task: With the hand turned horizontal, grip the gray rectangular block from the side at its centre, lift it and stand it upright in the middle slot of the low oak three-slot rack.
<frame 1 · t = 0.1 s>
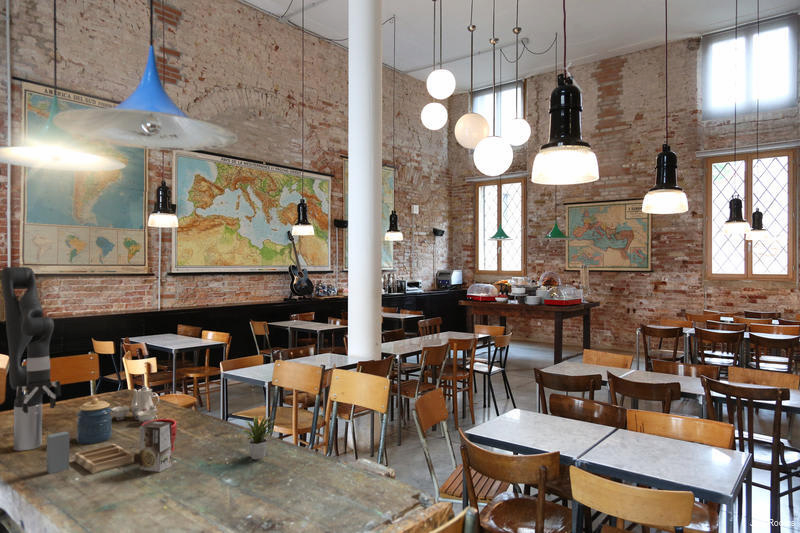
hand: (39, 410, 199), 17 cm above the table, tool pointing down, fingers open, 8 cm apart
gray rectangular block: (57, 470, 185), on the table
coffee box: (155, 468, 188), on the table
rack: (104, 461, 193), on the table
house plant: (257, 458, 198), on the table
plant pot: (158, 454, 201), on the table
chinaware: (139, 420, 246), on the table
canister: (94, 439, 217), on the table
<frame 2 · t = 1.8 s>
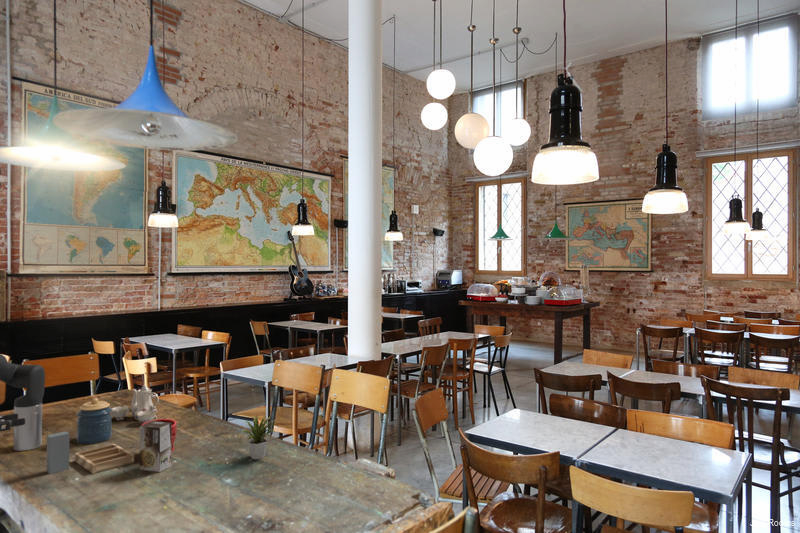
hand: (21, 418, 176), 21 cm above the table, tool horizontal, fingers open, 8 cm apart
nothing on the table moved.
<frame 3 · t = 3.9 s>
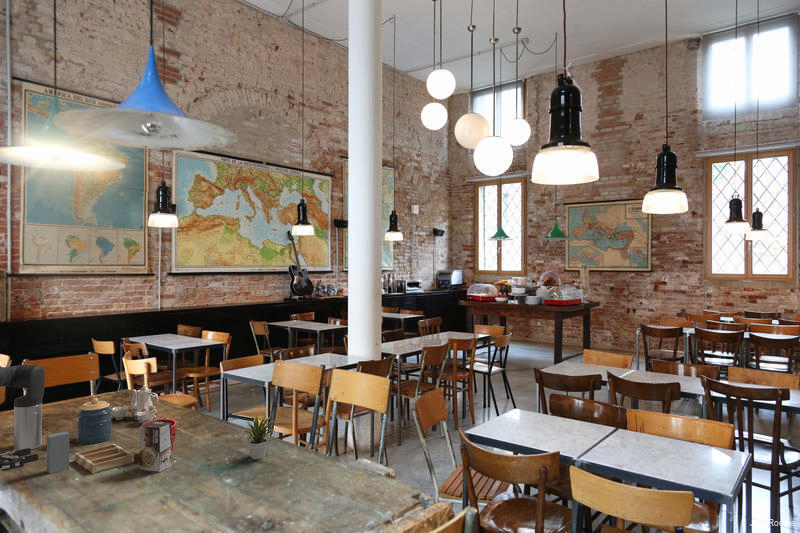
hand: (34, 453, 179), 8 cm above the table, tool horizontal, fingers open, 8 cm apart
nothing on the table moved.
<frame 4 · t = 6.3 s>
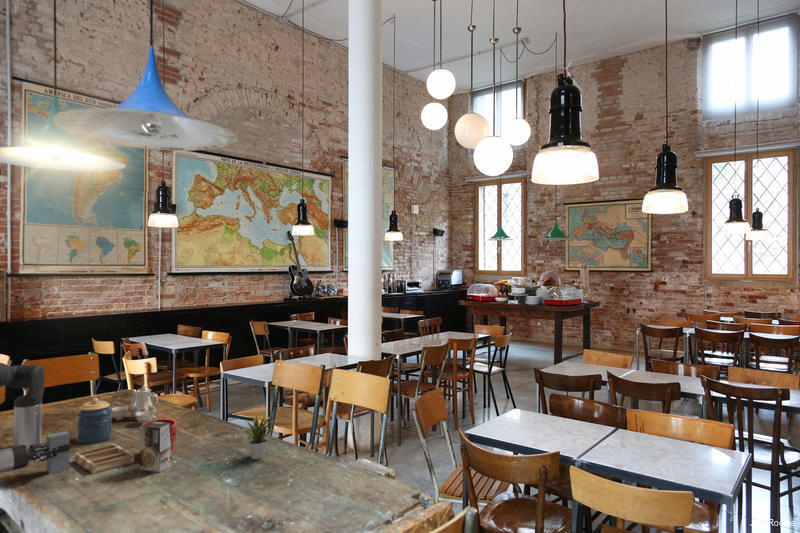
hand: (67, 445, 187), 8 cm above the table, tool horizontal, fingers closed on gray rectangular block, 3 cm apart
gray rectangular block: (58, 470, 185), on the table, touching gripper
everything else where it was.
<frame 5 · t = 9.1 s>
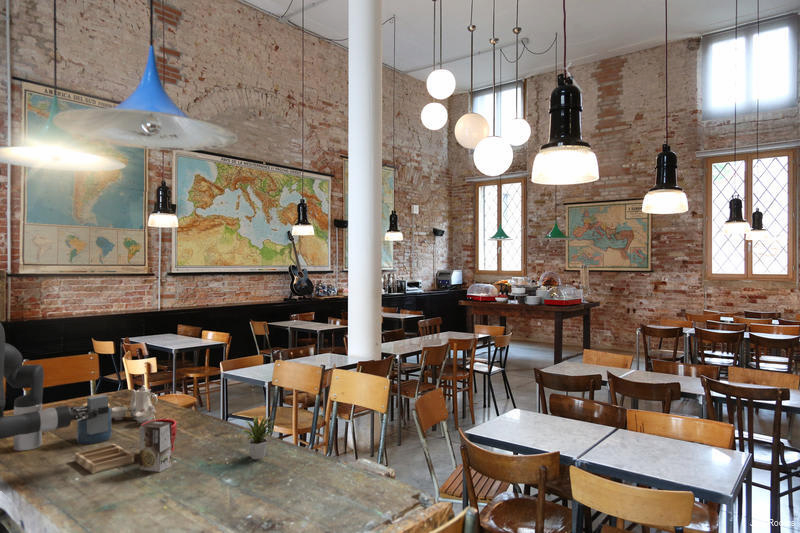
hand: (105, 408, 193), 20 cm above the table, tool horizontal, fingers closed on gray rectangular block, 3 cm apart
gray rectangular block: (97, 431, 191), point 12 cm above the table, touching gripper
everything else where it was.
when the fingers open (9 cm above the table, at t = 12.3 s): gray rectangular block stays where it is, resting on rack.
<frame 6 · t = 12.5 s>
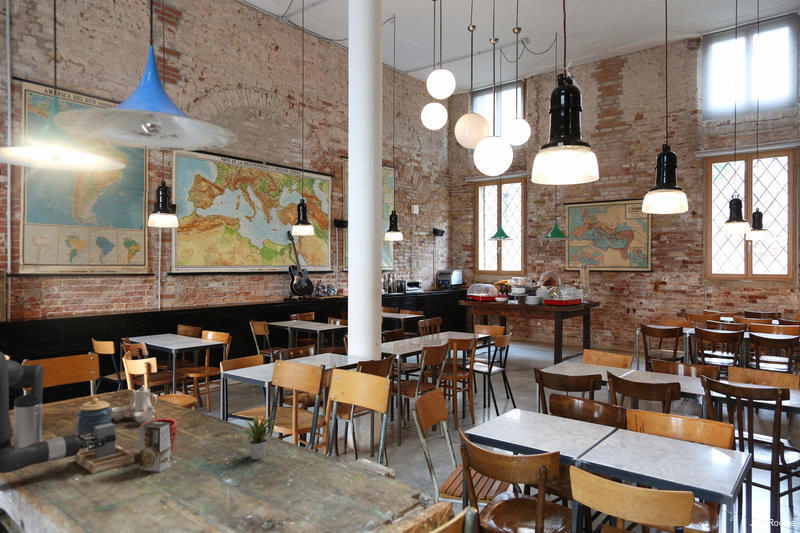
hand: (112, 435, 195), 9 cm above the table, tool horizontal, fingers open, 5 cm apart
gray rectangular block: (104, 460, 193), point 1 cm above the table, touching rack
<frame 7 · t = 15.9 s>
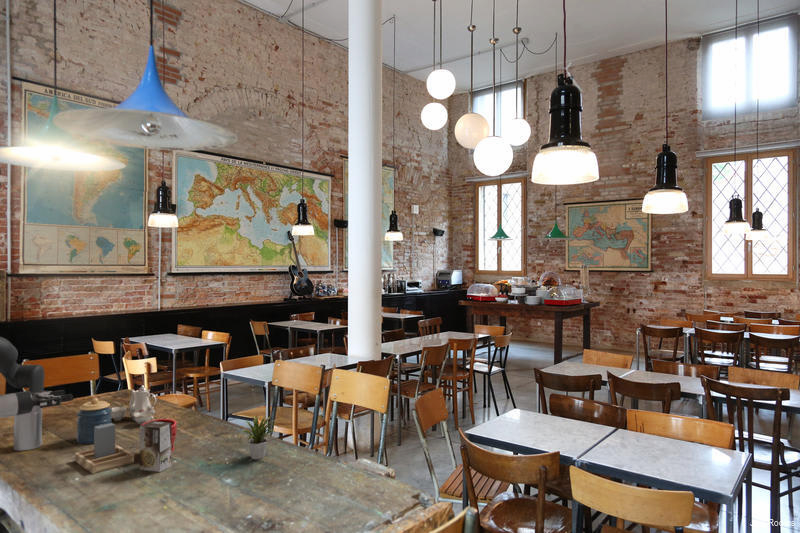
hand: (68, 394, 183), 27 cm above the table, tool horizontal, fingers open, 8 cm apart
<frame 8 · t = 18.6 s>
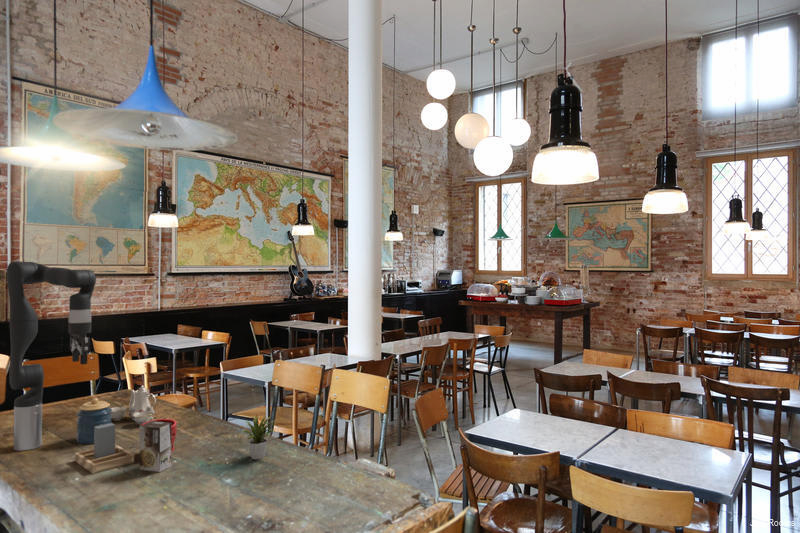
hand: (79, 362, 199), 36 cm above the table, tool pointing down, fingers open, 8 cm apart
at the end: gray rectangular block inside the target area on the rack (0.0 cm from its centre), point 0.6 cm above the rack's base; gray rectangular block tilted 0°; the gripper is holding nothing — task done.
